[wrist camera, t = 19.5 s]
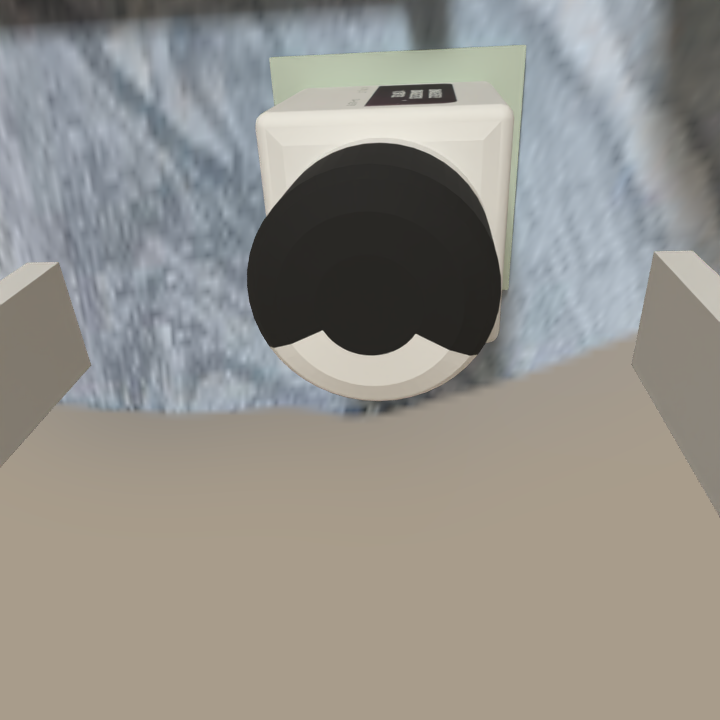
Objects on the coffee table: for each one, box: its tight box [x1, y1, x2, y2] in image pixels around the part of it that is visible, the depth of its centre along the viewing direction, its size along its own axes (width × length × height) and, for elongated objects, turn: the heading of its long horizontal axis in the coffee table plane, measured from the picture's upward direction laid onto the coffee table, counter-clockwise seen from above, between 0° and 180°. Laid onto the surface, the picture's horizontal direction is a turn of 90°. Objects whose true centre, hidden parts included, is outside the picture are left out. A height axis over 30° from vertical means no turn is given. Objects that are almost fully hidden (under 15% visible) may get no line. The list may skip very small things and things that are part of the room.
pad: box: [269, 45, 526, 290], centre depth 27 cm, size 10×10×1 cm
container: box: [247, 81, 514, 401], centre depth 21 cm, size 8×8×13 cm
